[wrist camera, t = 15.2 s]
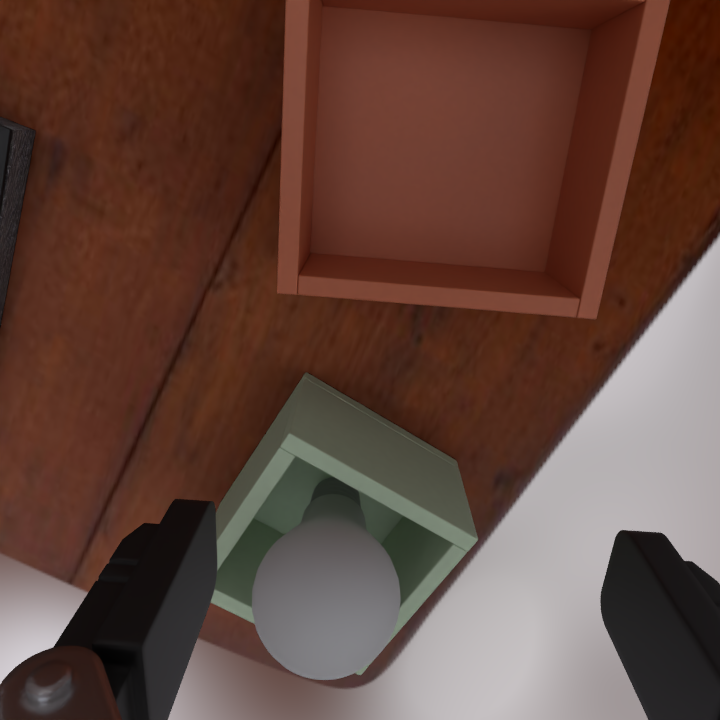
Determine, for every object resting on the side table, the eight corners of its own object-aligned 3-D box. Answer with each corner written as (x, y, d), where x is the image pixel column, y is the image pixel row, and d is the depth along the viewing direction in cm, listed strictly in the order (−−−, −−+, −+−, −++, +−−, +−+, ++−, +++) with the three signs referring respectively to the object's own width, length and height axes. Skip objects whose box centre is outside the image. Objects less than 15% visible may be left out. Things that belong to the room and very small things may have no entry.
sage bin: (306, 371, 30) (289, 432, 24) (456, 460, 32) (478, 539, 25) (219, 503, 33) (183, 589, 26) (362, 578, 35) (360, 676, 28)
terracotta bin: (607, 13, 24) (676, -25, 19) (552, 286, 28) (596, 319, 23) (305, -14, 24) (287, -60, 19) (294, 264, 28) (276, 293, 23)
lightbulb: (365, 422, 30) (363, 567, 20) (410, 513, 32) (429, 689, 22) (261, 463, 31) (206, 622, 21) (310, 549, 33) (283, 734, 23)
